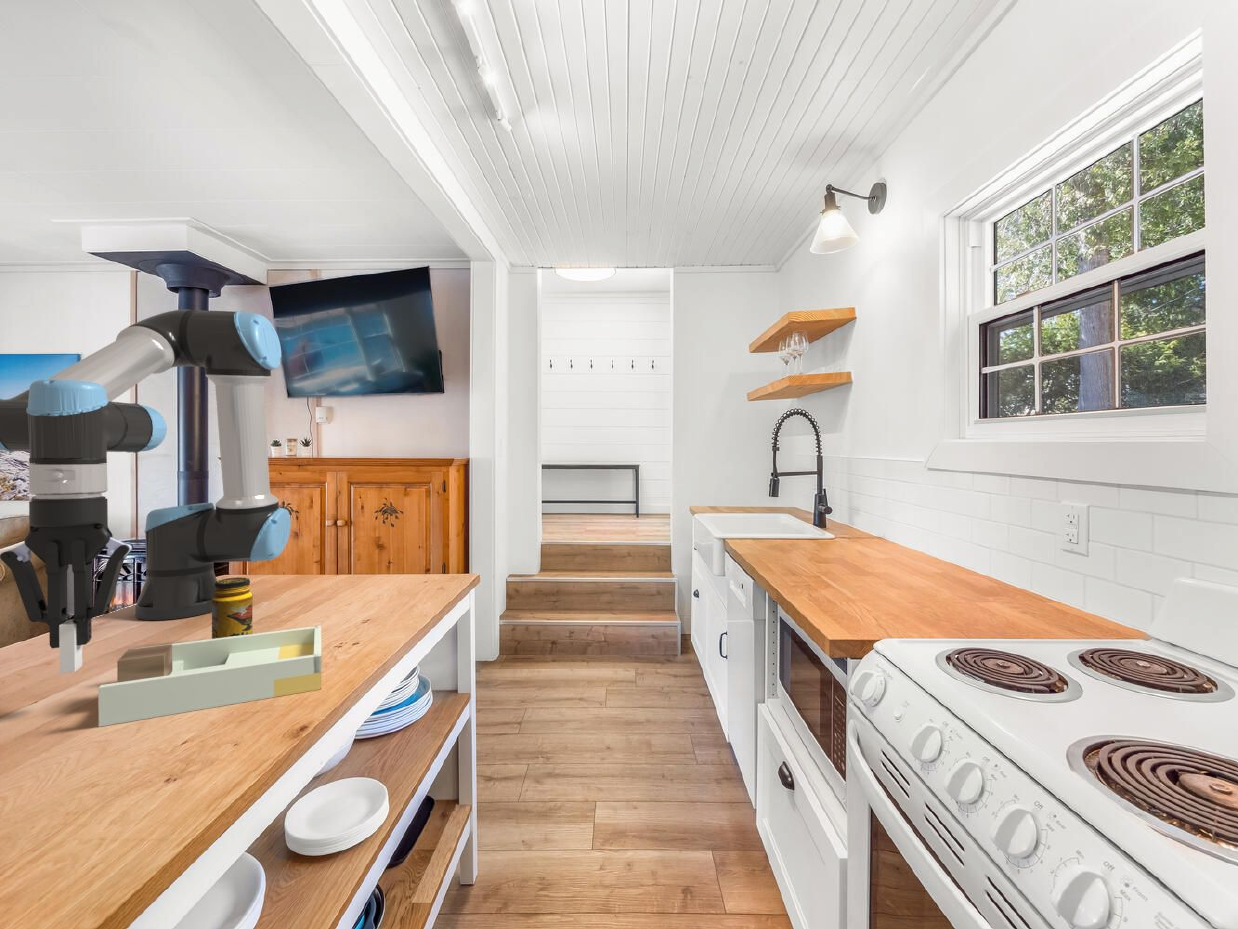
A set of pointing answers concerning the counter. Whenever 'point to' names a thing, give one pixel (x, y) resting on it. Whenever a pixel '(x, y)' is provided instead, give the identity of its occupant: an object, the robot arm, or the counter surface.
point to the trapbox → (219, 675)
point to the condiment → (232, 608)
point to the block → (145, 663)
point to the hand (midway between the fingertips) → (71, 669)
